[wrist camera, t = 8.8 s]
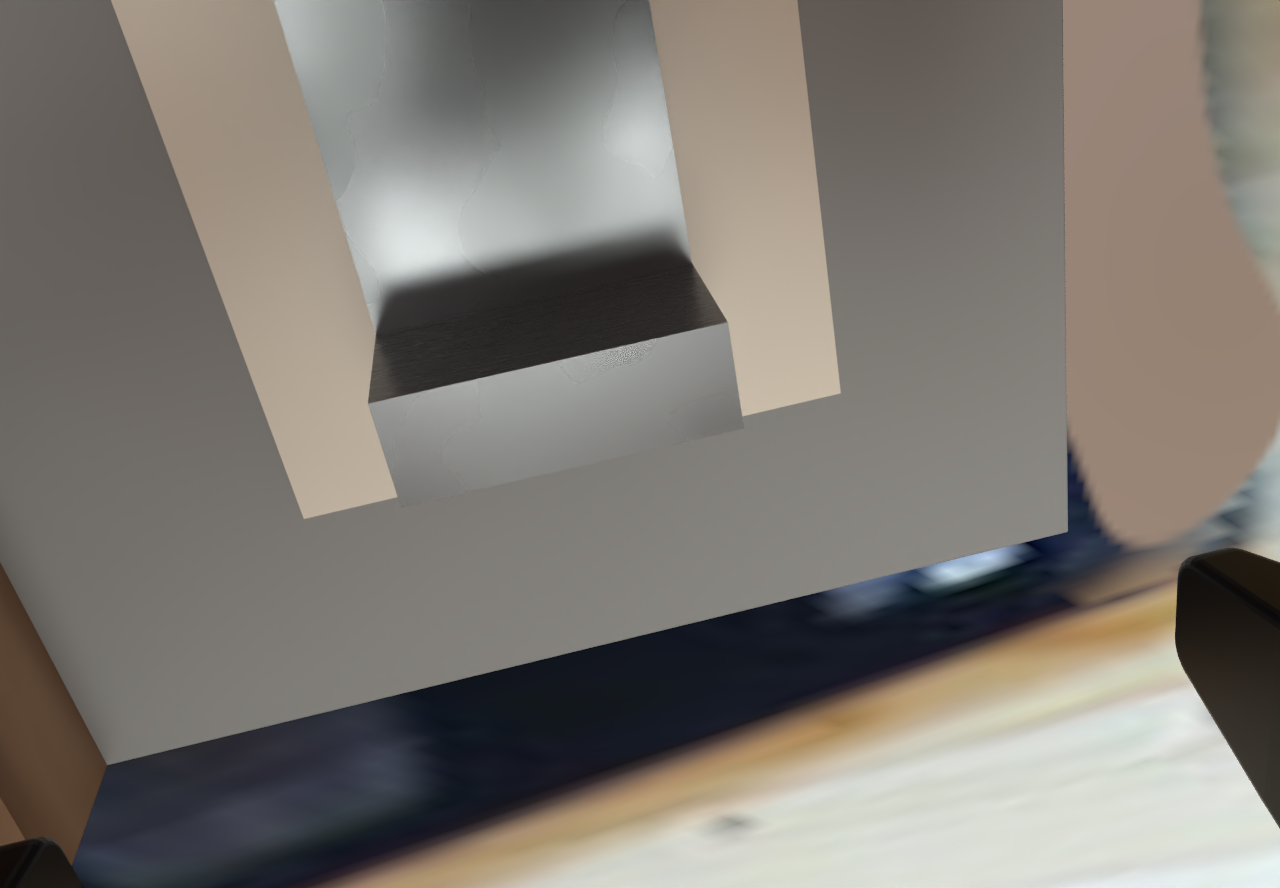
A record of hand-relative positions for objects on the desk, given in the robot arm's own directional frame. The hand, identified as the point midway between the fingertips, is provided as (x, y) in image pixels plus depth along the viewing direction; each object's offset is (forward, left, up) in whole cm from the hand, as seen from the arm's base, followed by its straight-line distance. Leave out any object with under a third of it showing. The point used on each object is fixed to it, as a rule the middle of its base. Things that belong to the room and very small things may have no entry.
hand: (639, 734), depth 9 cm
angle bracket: (0, +3, -10) cm, 10 cm away
